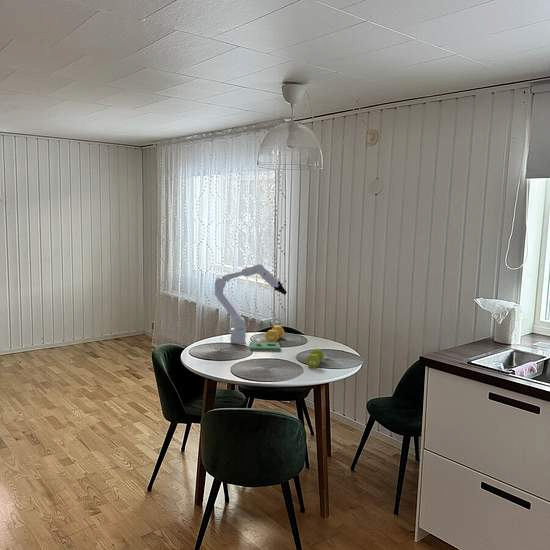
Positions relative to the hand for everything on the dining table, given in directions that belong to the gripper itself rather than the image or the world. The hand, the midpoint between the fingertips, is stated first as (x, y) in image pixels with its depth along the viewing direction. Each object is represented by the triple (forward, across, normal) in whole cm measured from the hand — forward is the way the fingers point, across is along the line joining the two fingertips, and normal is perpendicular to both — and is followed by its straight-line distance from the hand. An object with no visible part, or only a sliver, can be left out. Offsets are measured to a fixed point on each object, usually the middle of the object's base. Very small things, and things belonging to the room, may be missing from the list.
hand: (285, 292), depth 322 cm
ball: (+6, -14, +32) cm, 36 cm away
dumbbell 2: (+18, +7, +28) cm, 34 cm away
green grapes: (+31, -47, +17) cm, 59 cm away
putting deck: (+12, -14, +33) cm, 37 cm away
